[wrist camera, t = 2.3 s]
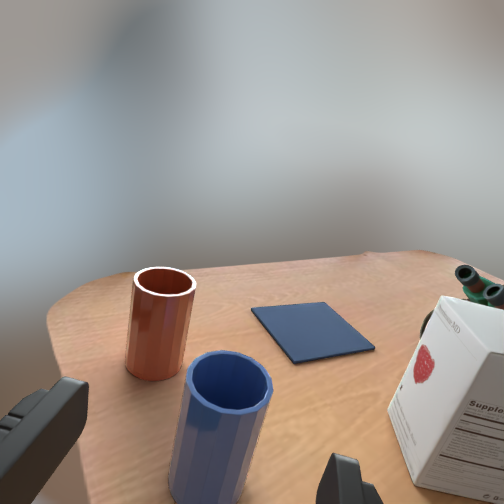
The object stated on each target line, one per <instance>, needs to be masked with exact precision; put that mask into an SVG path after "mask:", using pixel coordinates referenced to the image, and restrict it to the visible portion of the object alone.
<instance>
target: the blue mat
mask: <svg viewBox="0 0 504 504" xmlns="http://www.w3.org/2000/svg"><path fill="white" fill-rule="evenodd" d="M251 311H252V312H253V313H254V314H255V316H256V317H257V318H258V319H259V321H260V322H261V323H262V325H263V326H264V327H265V328H266V330H267V331H268V332H269V333H270V335H271V336H272V337H273V338H274V340H275V341H276V342H277V343H278V345H279V346H280V347H281V348H282V350H283V351H284V352H285V353H286V355H287V356H288V357H289V358H290V360H291V361H292V362H293V363H294V364H296V363H302V362H307V361H313V360H318V359H324V358H330V357H335V356H341V355H346V354H352V353H357V352H363V351H368V350H374V349H375V346H373V345H372V344H371V343H370V342H369V341H368V340H367V339H366V338H364V337H363V336H362V335H361V334H360V333H359V332H358V331H357V330H355V329H354V328H353V327H352V326H351V325H350V324H349V323H347V322H346V321H345V320H344V319H343V318H342V317H341V316H340V315H338V314H337V313H336V312H335V311H334V310H333V309H332V308H331V307H329V306H328V305H327V304H326V303H325V302H317V303H305V304H293V305H280V306H268V307H255V308H251Z"/></svg>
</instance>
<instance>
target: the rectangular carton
mask: <svg viewBox="0 0 504 504" xmlns="http://www.w3.org/2000/svg"><path fill="white" fill-rule="evenodd" d="M387 411H388V414H389V417H390V419H391V422H392V425H393V428H394V431H395V434H396V436H397V439H398V442H399V445H400V448H401V451H402V454H403V456H404V459H405V462H406V465H407V468H408V470H409V473H410V476H411V479H412V481H413V484H414V485H415V486H418V487H423V488H427V489H432V490H436V491H441V492H445V493H450V494H454V495H458V496H463V497H468V498H472V499H477V500H481V501H486V502H491V503H495V504H504V310H502V309H498V308H493V307H489V306H485V305H480V304H477V303H473V302H469V301H466V300H462V299H457V298H453V297H447V296H441V297H440V299H439V301H438V303H437V305H436V308H435V310H434V312H433V314H432V316H431V318H430V320H429V322H428V324H427V327H426V329H425V331H424V333H423V335H422V337H421V339H420V341H419V344H418V346H417V348H416V350H415V352H414V354H413V356H412V358H411V360H410V363H409V365H408V367H407V369H406V371H405V373H404V375H403V377H402V380H401V382H400V384H399V386H398V388H397V390H396V392H395V395H394V397H393V399H392V401H391V403H390V405H389V407H388V409H387Z"/></svg>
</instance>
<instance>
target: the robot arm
mask: <svg viewBox="0 0 504 504" xmlns="http://www.w3.org/2000/svg"><path fill="white" fill-rule="evenodd" d="M88 392H89V385H88V383H87V382H84V381H80V380H77V379H73V378H70V377H66V376H65V377H62V378H61V379H60V380H59V381H58V382H57V383H56V384H55V385H54V386H53V387H52V388H51V389H50V390H49V391H48V390H44V389H40V390H38V391H36V392H34V393H32V394H30V395H29V396H27V397H25V398H23V399H22V400H21V401H20V402H19V403H18V404H17V405H16V406H15V407H14V408H13V409H12V410H11V411H10V412H9V413H8V415H5V416H4V417H3V418H2V419H1V420H0V504H31V503H32V502H33V500H34V499H35V497H36V496H37V495H38V493H39V492H40V490H41V489H42V488H43V486H44V485H45V483H46V482H47V481H48V479H49V478H50V477H51V475H52V474H53V473H54V471H55V470H56V468H57V467H58V466H59V464H60V463H61V461H62V460H63V459H64V457H65V456H66V455H67V453H68V452H69V450H70V449H71V448H72V446H73V445H74V444H75V442H76V441H77V439H78V438H79V436H80V435H81V433H82V431H83V429H84V426H85V424H86V420H87V410H88ZM316 504H383V502H382V500H381V498H380V496H379V494H378V493H377V491H376V489H375V487H374V485H373V484H370V483H367V482H363V481H362V478H361V472H360V466H359V462H358V460H357V459H353V458H350V457H346V456H343V455H339V454H336V453H332V455H331V457H330V459H329V461H328V464H327V466H326V469H325V471H324V474H323V476H322V479H321V481H320V483H319V486H318V490H317V496H316Z"/></svg>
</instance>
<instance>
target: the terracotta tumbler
mask: <svg viewBox="0 0 504 504" xmlns="http://www.w3.org/2000/svg"><path fill="white" fill-rule="evenodd" d="M195 288H196V282H195V280H194V278H193V277H192V276H190V275H189V274H187V273H186V272H183V271H180V270H178V269H174V268H168V267H151V268H146V269H143V270H141V271H139V272H137V273H136V274H135V276H134V278H133V285H132V295H131V305H130V314H129V324H128V334H127V344H126V354H125V358H126V360H125V364H126V367H127V369H128V371H129V372H130V373H131V374H132V375H134V376H135V377H137V378H140V379H143V380H148V381H160V380H165V379H168V378H170V377H172V376H174V375H175V374H176V373H177V372H178V371H179V370H180V369H181V366H182V362H183V357H184V351H185V345H186V340H187V334H188V328H189V322H190V317H191V311H192V305H193V300H194V294H195Z"/></svg>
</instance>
